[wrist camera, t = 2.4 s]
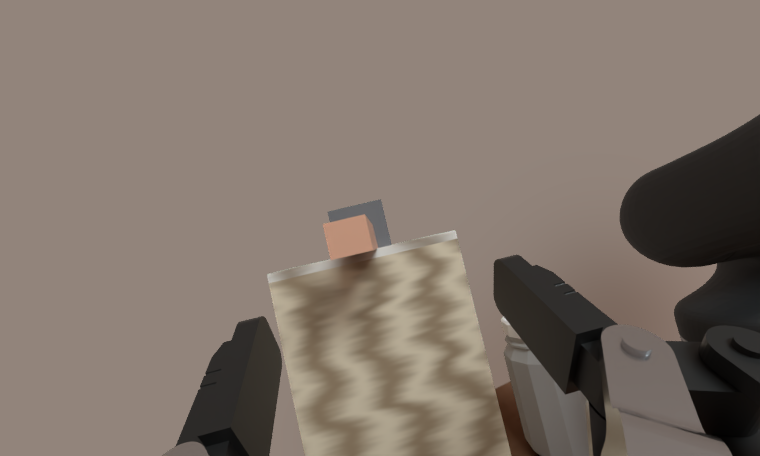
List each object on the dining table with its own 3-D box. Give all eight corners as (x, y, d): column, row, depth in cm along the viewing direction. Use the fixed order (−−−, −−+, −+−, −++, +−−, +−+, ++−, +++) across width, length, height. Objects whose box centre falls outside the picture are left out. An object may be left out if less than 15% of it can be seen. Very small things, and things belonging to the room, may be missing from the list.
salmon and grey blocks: (344, 255, 44) (335, 216, 44) (390, 244, 44) (381, 205, 44) (309, 265, 24) (294, 193, 25) (394, 245, 24) (377, 173, 24)
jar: (615, 434, 41) (580, 303, 42) (600, 485, 34) (559, 328, 35) (540, 416, 48) (511, 304, 49) (515, 455, 41) (483, 325, 42)
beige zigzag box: (484, 446, 44) (432, 235, 46) (525, 510, 33) (455, 230, 35) (337, 490, 42) (289, 268, 44) (329, 573, 31) (266, 274, 33)
